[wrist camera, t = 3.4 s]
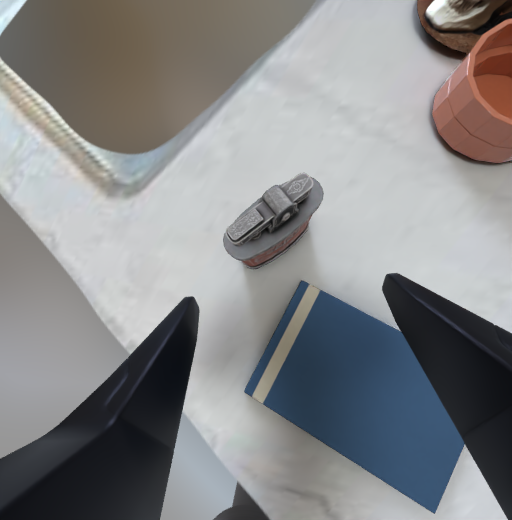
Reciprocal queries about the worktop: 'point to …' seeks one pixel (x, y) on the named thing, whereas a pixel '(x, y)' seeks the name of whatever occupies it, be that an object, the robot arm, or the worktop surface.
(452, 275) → the worktop surface
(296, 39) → the worktop surface
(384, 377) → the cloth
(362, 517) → the worktop surface
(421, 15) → the skull
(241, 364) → the worktop surface
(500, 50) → the bowl
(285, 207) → the vintage table igniter
